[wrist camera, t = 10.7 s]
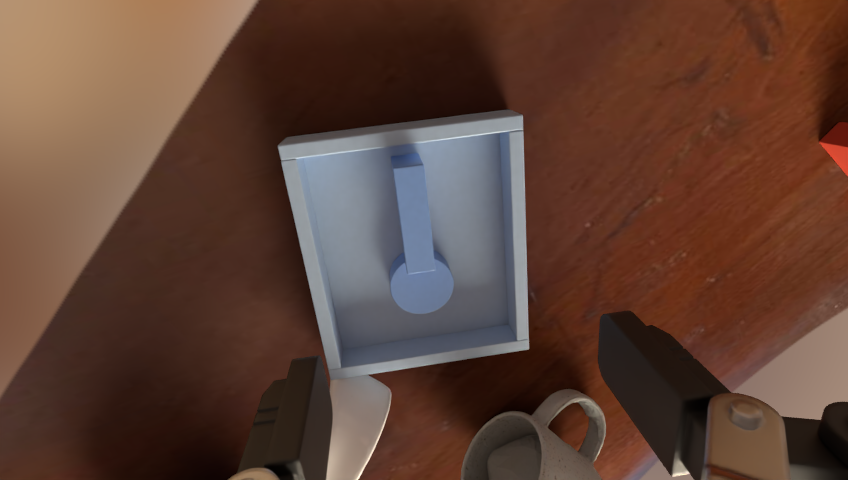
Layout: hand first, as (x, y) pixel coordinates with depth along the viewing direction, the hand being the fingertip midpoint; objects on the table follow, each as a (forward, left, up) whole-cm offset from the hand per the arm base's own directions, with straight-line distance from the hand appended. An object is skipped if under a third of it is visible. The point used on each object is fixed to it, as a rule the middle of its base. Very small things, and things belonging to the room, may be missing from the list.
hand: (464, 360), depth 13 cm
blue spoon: (+2, 0, -15) cm, 15 cm away
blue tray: (+3, 0, -16) cm, 16 cm away
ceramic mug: (+20, +7, -16) cm, 26 cm away
